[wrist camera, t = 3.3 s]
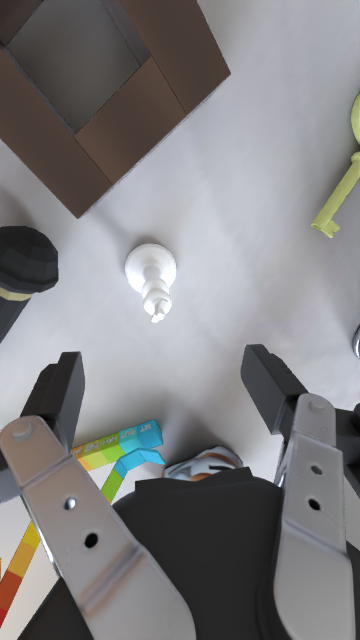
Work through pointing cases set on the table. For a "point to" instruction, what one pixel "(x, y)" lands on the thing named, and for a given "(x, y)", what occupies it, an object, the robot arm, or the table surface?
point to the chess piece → (152, 277)
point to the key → (341, 183)
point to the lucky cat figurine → (204, 465)
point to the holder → (111, 99)
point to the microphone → (23, 270)
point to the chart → (128, 453)
